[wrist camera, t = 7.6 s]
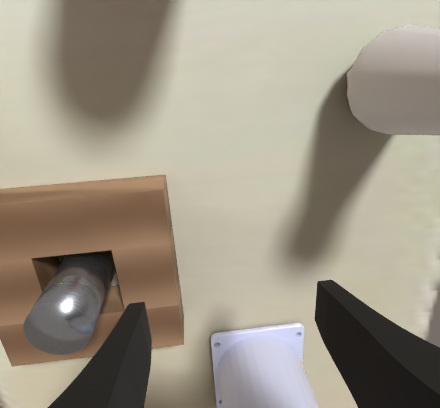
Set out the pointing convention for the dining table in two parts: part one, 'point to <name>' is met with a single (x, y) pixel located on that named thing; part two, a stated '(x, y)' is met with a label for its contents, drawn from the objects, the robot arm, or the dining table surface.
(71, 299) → the long pin
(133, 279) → the hole block
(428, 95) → the salt shaker
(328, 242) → the dining table surface
